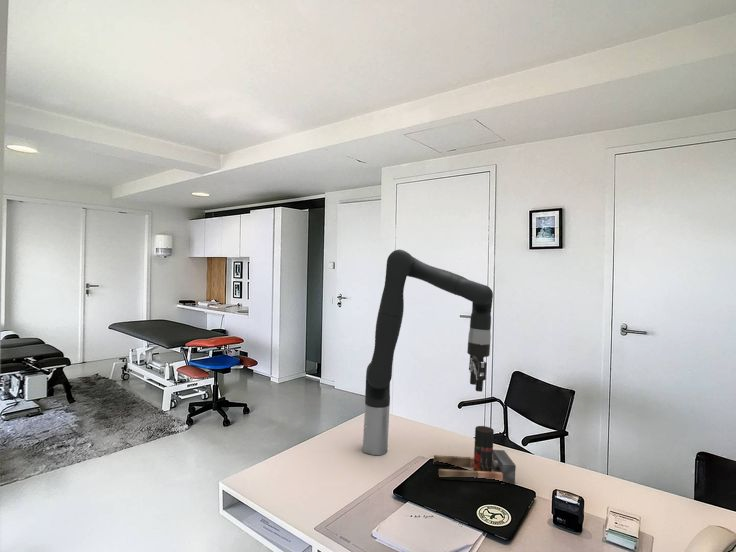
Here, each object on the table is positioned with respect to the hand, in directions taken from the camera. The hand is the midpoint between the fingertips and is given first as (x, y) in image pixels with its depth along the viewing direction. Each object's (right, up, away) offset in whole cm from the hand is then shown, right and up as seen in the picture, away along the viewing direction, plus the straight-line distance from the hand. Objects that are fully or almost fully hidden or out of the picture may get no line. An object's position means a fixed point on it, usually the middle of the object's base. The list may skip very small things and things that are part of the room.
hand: (475, 387), depth 139 cm
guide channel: (-3, -27, -5) cm, 28 cm away
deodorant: (+1, -28, -5) cm, 28 cm away
